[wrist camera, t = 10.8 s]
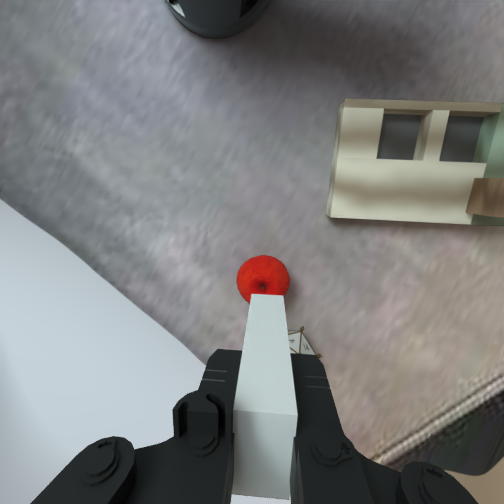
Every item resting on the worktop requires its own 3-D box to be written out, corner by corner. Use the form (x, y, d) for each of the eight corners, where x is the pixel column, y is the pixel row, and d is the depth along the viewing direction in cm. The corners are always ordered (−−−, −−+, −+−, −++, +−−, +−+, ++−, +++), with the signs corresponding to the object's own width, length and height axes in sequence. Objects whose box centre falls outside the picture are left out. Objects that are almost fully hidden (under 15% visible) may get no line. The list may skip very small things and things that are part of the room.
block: (474, 178, 35) (503, 177, 30) (510, 179, 34) (544, 179, 30) (465, 212, 36) (492, 216, 31) (499, 214, 36) (531, 219, 31)
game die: (287, 318, 49) (309, 312, 40) (312, 359, 48) (341, 364, 38) (247, 345, 46) (260, 345, 37) (272, 390, 45) (293, 403, 35)
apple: (284, 297, 44) (287, 320, 37) (237, 292, 44) (231, 313, 37) (290, 252, 42) (295, 266, 35) (241, 246, 42) (235, 259, 35)
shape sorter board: (338, 105, 36) (345, 98, 33) (530, 110, 35) (554, 104, 32) (326, 214, 40) (330, 217, 37) (497, 223, 39) (516, 226, 36)
